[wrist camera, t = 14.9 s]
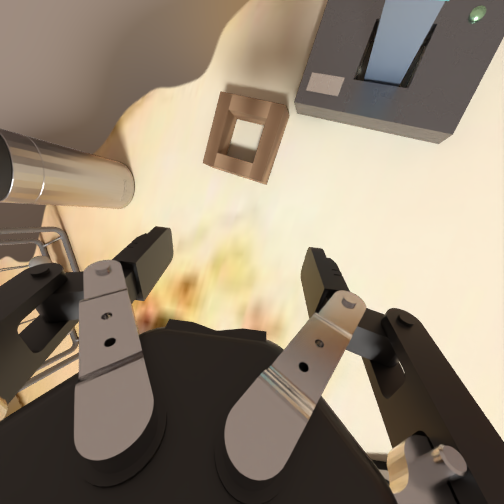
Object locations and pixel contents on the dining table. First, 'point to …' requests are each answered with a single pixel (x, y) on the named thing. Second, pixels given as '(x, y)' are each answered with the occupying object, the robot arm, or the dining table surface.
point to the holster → (223, 127)
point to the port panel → (423, 77)
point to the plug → (400, 38)
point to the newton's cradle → (37, 261)
